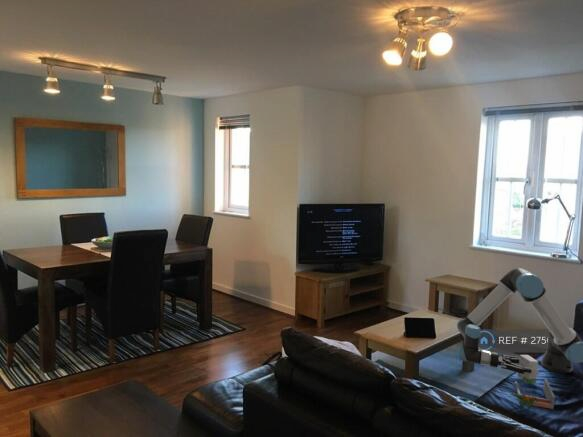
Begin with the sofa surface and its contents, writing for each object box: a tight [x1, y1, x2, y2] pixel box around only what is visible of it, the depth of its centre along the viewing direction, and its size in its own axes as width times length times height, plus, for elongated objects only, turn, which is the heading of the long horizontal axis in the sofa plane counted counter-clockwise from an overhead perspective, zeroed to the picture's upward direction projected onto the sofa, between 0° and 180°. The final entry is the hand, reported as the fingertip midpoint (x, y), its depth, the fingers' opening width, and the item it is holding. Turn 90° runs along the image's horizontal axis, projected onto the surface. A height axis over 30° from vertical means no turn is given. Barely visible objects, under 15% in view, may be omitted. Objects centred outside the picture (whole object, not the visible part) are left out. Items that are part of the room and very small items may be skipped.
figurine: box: [509, 389, 538, 411], centre depth 216 cm, size 3×12×8 cm, turn 61°
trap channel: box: [513, 378, 556, 410], centre depth 227 cm, size 14×19×6 cm
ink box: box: [517, 354, 539, 385], centre depth 242 cm, size 8×5×12 cm, turn 10°
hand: (537, 368), depth 241 cm, fingers closed on ink box, 9 cm apart
